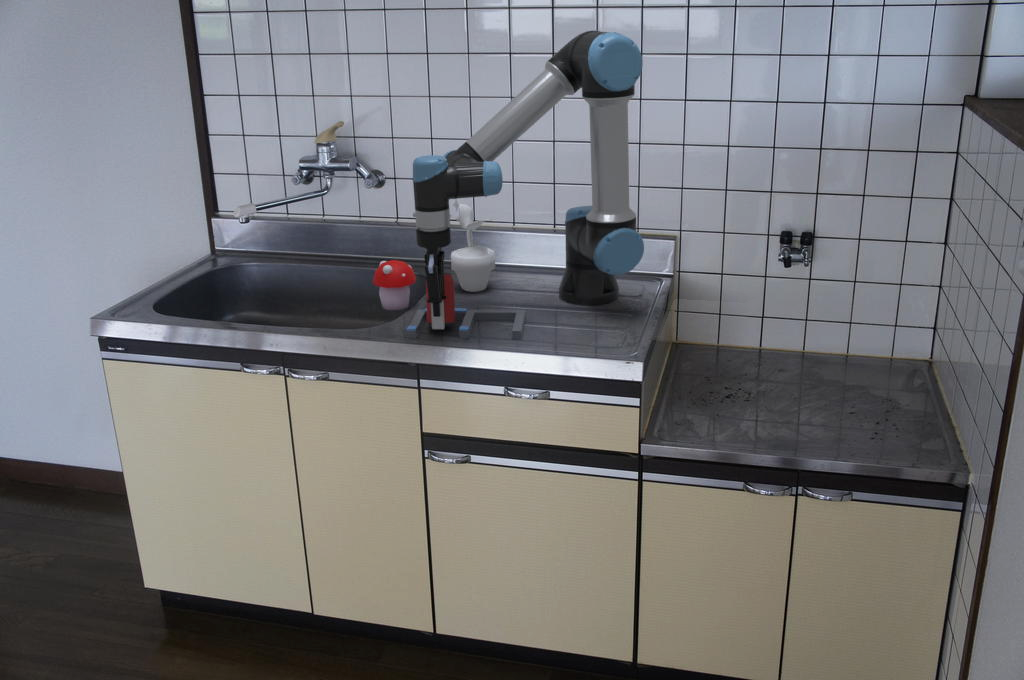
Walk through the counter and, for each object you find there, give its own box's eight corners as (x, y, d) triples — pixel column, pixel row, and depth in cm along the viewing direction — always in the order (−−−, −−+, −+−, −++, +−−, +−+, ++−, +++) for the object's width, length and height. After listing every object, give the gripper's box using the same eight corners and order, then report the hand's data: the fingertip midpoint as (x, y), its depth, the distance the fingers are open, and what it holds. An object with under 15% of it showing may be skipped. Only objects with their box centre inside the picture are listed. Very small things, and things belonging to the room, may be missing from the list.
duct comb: (525, 317, 232) (525, 308, 232) (521, 339, 219) (520, 329, 218) (418, 317, 235) (417, 308, 234) (407, 338, 221) (406, 328, 220)
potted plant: (443, 289, 255) (438, 195, 246) (476, 279, 262) (473, 187, 253) (474, 299, 246) (469, 202, 237) (508, 289, 253) (505, 194, 245)
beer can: (457, 325, 228) (456, 274, 229) (452, 323, 222) (451, 271, 222) (430, 326, 229) (428, 275, 229) (424, 324, 222) (423, 272, 223)
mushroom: (392, 296, 250) (388, 252, 246) (426, 303, 245) (424, 257, 240) (366, 309, 242) (362, 262, 237) (401, 315, 236) (398, 268, 232)
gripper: (421, 220, 220) (426, 318, 228) (410, 234, 208) (417, 338, 216) (454, 220, 219) (458, 318, 227) (445, 234, 207) (450, 338, 215)
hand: (438, 328), depth 222 cm, fingers closed
